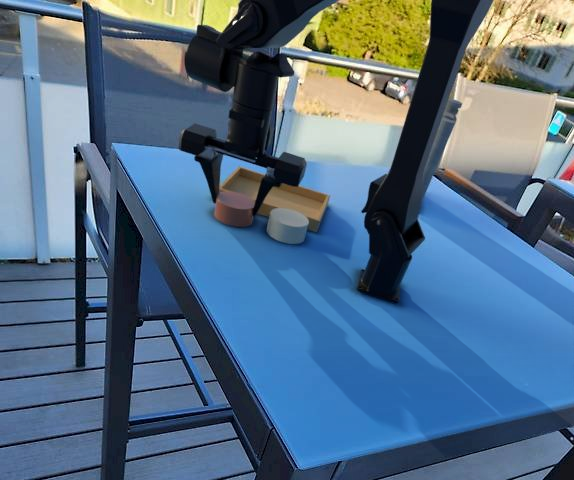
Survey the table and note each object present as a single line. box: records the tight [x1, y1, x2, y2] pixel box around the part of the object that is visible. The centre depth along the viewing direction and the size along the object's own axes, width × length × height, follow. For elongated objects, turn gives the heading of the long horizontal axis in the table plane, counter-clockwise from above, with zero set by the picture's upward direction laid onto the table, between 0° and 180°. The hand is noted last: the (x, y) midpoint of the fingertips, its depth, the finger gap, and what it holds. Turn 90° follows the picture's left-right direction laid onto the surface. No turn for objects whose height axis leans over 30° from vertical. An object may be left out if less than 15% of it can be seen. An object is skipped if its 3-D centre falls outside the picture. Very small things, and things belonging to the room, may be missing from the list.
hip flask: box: [420, 97, 463, 206], centre depth 101 cm, size 16×4×20 cm, turn 170°
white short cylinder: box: [266, 208, 309, 245], centre depth 79 cm, size 6×6×3 cm
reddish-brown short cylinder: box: [213, 191, 255, 228], centre depth 79 cm, size 6×6×3 cm
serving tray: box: [219, 166, 331, 233], centre depth 88 cm, size 13×18×2 cm
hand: (235, 208), depth 79 cm, fingers closed on reddish-brown short cylinder, 6 cm apart
